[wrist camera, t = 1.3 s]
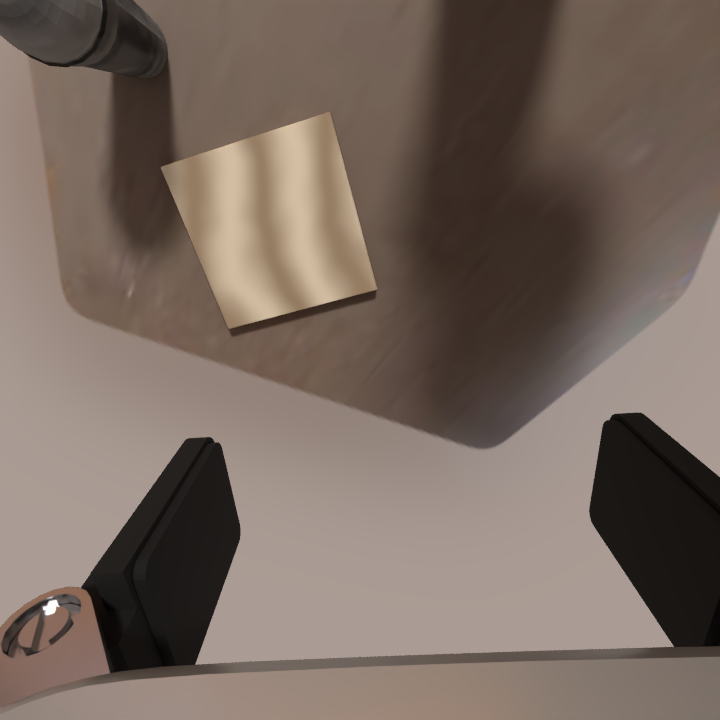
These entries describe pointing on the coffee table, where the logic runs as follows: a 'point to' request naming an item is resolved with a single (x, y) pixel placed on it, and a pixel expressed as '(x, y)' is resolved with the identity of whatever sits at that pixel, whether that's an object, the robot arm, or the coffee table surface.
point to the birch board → (274, 221)
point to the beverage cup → (86, 34)
